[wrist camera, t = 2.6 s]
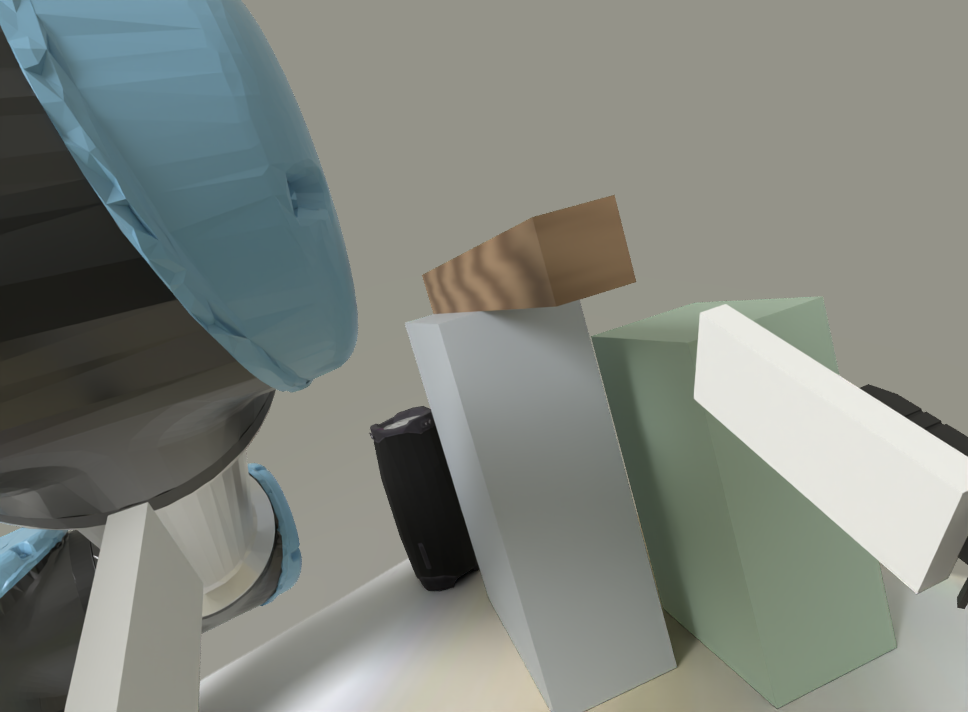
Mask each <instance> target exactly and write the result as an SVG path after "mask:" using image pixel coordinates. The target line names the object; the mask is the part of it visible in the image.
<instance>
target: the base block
mask: <svg viewBox="0 0 968 712" xmlns="http://www.w3.org/2000/svg"><path fill="white" fill-rule="evenodd" d="M724 304H727V305H728V306H730V307H732V308H733V309H735V310H736V311H738V312H739V313H741V314H743V315H744V316H746V317H747V318H749V319H751V320H752V321H754V322H755V323H757V324H758V325H760V326H762V327H763V328H765V329H766V330H768V331H769V332H771V333H773V334H774V335H776V336H777V337H779V338H781V339H782V340H784V341H785V342H787V343H788V344H790V345H792V346H793V347H795V348H796V349H798V350H800V351H801V352H803V353H804V354H806V355H807V356H809V357H811V358H812V359H814V360H815V361H817V362H819V363H820V364H822V365H823V366H825V367H826V368H828V369H830V370H831V371H833V372H834V373H836V374H837V375H839V371H838V366H837V361H836V357H835V352H834V347H833V342H832V338H831V333H830V328H829V324H828V319H827V314H826V310H825V305H824V300H823V297H802V298H782V299H761V300H741V301H721V302H700V303H692V304H689V305H686V306H683V307H680V308H677V309H674V310H671V311H668V312H665V313H661V314H658V315H655V316H652V317H649V318H646V319H643V320H640V321H637V322H634V323H631V324H628V325H625V326H622V327H619V328H615V329H613V330H609V331H606V332H603V333H600V334H597V335H594V336H591V338H592V342H593V345H594V349H595V353H596V357H597V361H598V364H599V368H600V372H601V376H602V380H603V383H604V387H605V391H606V394H607V398H608V402H609V406H610V410H611V414H612V417H613V421H614V425H615V428H616V432H617V436H618V440H619V444H620V447H621V451H622V455H623V459H624V462H625V466H626V470H627V474H628V478H629V482H630V485H631V489H632V492H633V497H634V500H635V504H636V508H637V512H638V515H639V519H640V523H641V527H642V531H643V534H644V538H645V542H646V546H647V549H648V553H649V557H650V561H651V565H652V568H653V572H654V576H655V580H656V583H657V587H658V591H659V595H660V599H661V602H662V606H663V609H664V610H666V611H667V612H668V613H669V614H670V615H671V616H672V617H674V618H675V619H676V620H677V621H678V622H679V623H680V624H681V625H683V626H684V627H685V628H686V629H687V630H688V631H689V632H691V633H692V634H693V635H694V636H695V637H696V638H697V639H698V640H700V641H701V642H702V643H703V644H704V645H705V646H706V647H708V648H709V649H710V650H711V651H712V652H713V653H714V654H716V655H717V656H718V657H719V658H720V659H721V660H722V661H723V662H725V663H726V664H727V665H728V666H729V667H730V668H731V669H733V670H734V671H735V672H736V673H737V674H738V675H739V676H740V677H742V678H743V679H744V680H745V681H746V682H747V683H748V684H750V685H751V686H752V687H753V688H754V689H755V690H756V691H757V692H759V693H760V694H761V695H762V696H763V697H764V698H765V699H767V700H768V701H769V702H770V703H771V704H772V705H773V706H774V707H776V708H777V709H778V708H780V707H782V706H783V705H785V704H787V703H789V702H791V701H793V700H795V699H797V698H799V697H801V696H803V695H805V694H807V693H809V692H811V691H813V690H815V689H817V688H819V687H821V686H822V685H824V684H826V683H828V682H830V681H832V680H834V679H836V678H838V677H840V676H842V675H844V674H846V673H848V672H850V671H852V670H854V669H856V668H858V667H860V666H861V665H863V664H865V663H867V662H869V661H871V660H873V659H875V658H877V657H879V656H881V655H883V654H885V653H887V652H889V651H891V650H893V649H895V648H897V644H896V640H895V635H894V630H893V626H892V621H891V616H890V611H889V607H888V602H887V597H886V592H885V588H884V583H883V578H882V574H881V569H880V564H879V561H878V560H877V559H876V558H875V557H874V556H872V555H871V554H870V553H869V552H868V551H867V550H866V549H865V548H863V547H862V546H861V545H860V544H859V543H858V542H857V541H855V540H854V539H853V538H852V537H851V536H850V535H849V534H847V533H846V532H845V531H844V530H843V529H842V528H841V527H839V526H838V525H837V524H836V523H835V522H834V521H833V520H831V519H830V518H829V517H828V516H827V515H826V514H825V513H824V512H822V511H821V510H820V509H819V508H818V507H817V506H816V505H814V504H813V503H812V502H811V501H810V500H809V499H808V498H806V497H805V496H804V495H803V494H802V493H801V492H800V491H798V490H797V489H796V488H795V487H794V486H793V485H792V484H790V483H789V482H788V481H787V480H786V479H785V478H784V477H782V476H781V475H780V474H779V473H778V472H777V471H776V470H775V469H773V468H772V467H771V466H770V465H769V464H768V463H767V462H765V461H764V460H763V459H762V458H761V457H760V456H759V455H757V454H756V453H755V452H754V451H753V450H752V449H751V448H749V447H748V446H747V445H746V444H745V443H744V442H743V441H741V440H740V439H739V438H738V437H737V436H736V435H735V434H734V433H732V432H731V431H730V430H729V429H728V428H727V427H726V426H724V425H723V424H722V423H721V422H720V421H719V420H718V419H716V418H715V417H714V416H713V415H712V414H711V413H710V412H708V411H707V410H706V409H705V408H704V407H703V406H702V405H700V404H699V403H698V402H697V401H696V400H695V399H694V385H695V372H696V359H697V345H698V332H699V318H700V313H701V312H704V311H706V310H709V309H712V308H715V307H718V306H721V305H724ZM839 376H840V375H839Z"/></svg>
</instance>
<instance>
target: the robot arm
mask: <svg viewBox="0 0 968 712" xmlns="http://www.w3.org/2000/svg"><path fill="white" fill-rule="evenodd" d="M357 334H358V313H357V304H356V297H355V289H354V284H353V279H352V273H351V268H350V264H349V260H348V255H347V251H346V247H345V243H344V238H343V235H342V232H341V227H340V224H339V220H338V217H337V213H336V210H335V207H334V204H333V201H332V197H331V195H330V191H329V188H328V184H327V182H326V178H325V176H324V173H323V170H322V167H321V164H320V161H319V158H318V155H317V152H316V150H315V147H314V144H313V142H312V139H311V136H310V134H309V131H308V128H307V126H306V123H305V121H304V118H303V116H302V113H301V111H300V108H299V106H298V103H297V101H296V99H295V96H294V94H293V92H292V90H291V88H290V85H289V83H288V81H287V78H286V76H285V74H284V72H283V70H282V68H281V66H280V64H279V62H278V60H277V58H276V56H275V54H274V52H273V50H272V48H271V46H270V45H269V43H268V41H267V39H266V37H265V35H264V34H263V32H262V30H261V28H260V27H259V25H258V23H257V22H256V20H255V19H254V17H253V16H252V14H251V13H250V11H249V10H248V9H247V7H246V6H245V4H244V3H243V2H242V1H241V0H0V522H1V523H4V524H9V525H14V526H19V527H22V528H20V529H18V530H16V531H14V532H11V533H9V534H7V535H5V536H3V537H0V712H199V686H200V659H201V634H202V633H204V632H206V631H209V630H211V629H213V628H215V627H217V626H219V625H221V624H223V623H225V622H227V621H229V620H231V619H233V618H235V617H237V616H239V615H241V614H243V613H245V612H247V611H250V610H252V609H254V608H256V607H258V606H263V605H266V604H268V603H270V602H272V601H273V600H274V599H275V598H276V597H277V596H278V595H280V594H282V593H283V592H285V591H287V590H289V589H290V588H291V587H292V586H294V584H295V583H296V582H297V580H298V578H299V575H300V573H301V565H302V559H301V558H302V557H301V553H300V550H299V548H298V547H299V538H298V533H297V529H296V525H295V523H294V519H293V516H292V513H291V510H290V508H289V505H288V503H287V500H286V498H285V496H284V494H283V491H282V490H281V488H280V486H279V484H278V483H277V481H276V479H275V478H274V477H273V475H272V474H271V473H270V472H269V471H267V470H266V468H265V467H264V466H262V465H260V464H256V463H251V464H247V453H246V449H247V448H248V446H249V445H250V443H251V442H252V441H253V439H254V438H255V436H256V435H257V433H258V432H259V430H260V428H261V426H262V424H263V422H264V421H265V419H266V417H267V415H268V413H269V410H270V407H271V404H272V401H273V398H274V395H275V391H276V389H277V390H279V391H282V392H284V391H289V392H296V391H299V390H302V389H304V388H306V387H308V386H309V385H310V384H311V382H312V381H313V379H315V378H317V377H319V376H321V375H324V374H326V373H328V372H331V371H333V370H335V369H337V368H339V367H341V366H342V365H343V364H344V363H345V362H346V361H347V360H348V359H349V357H350V356H351V354H352V352H353V350H354V348H355V345H356V341H357ZM694 399H695V400H696V401H697V402H698V403H699V404H700V405H702V406H703V407H704V408H705V409H706V410H707V411H708V412H710V413H711V414H712V415H713V416H714V417H715V418H716V419H718V420H719V421H720V422H721V423H722V424H723V425H724V426H726V427H727V428H728V429H729V430H730V431H731V432H732V433H734V434H735V435H736V436H737V437H738V438H739V439H740V440H741V441H743V442H744V443H745V444H746V445H747V446H748V447H749V448H751V449H752V450H753V451H754V452H755V453H756V454H757V455H759V456H760V457H761V458H762V459H763V460H764V461H765V462H767V463H768V464H769V465H770V466H771V467H772V468H773V469H775V470H776V471H777V472H778V473H779V474H780V475H781V476H782V477H784V478H785V479H786V480H787V481H788V482H789V483H790V484H792V485H793V486H794V487H795V488H796V489H797V490H798V491H800V492H801V493H802V494H803V495H804V496H805V497H806V498H808V499H809V500H810V501H811V502H812V503H813V504H814V505H816V506H817V507H818V508H819V509H820V510H821V511H822V512H824V513H825V514H826V515H827V516H828V517H829V518H830V519H831V520H833V521H834V522H835V523H836V524H837V525H838V526H839V527H841V528H842V529H843V530H844V531H845V532H846V533H847V534H849V535H850V536H851V537H852V538H853V539H854V540H855V541H857V542H858V543H859V544H860V545H861V546H862V547H863V548H865V549H866V550H867V551H868V552H869V553H870V554H871V555H872V556H874V557H875V558H876V559H877V560H878V561H879V562H880V563H882V564H883V565H884V566H885V567H886V568H887V569H888V570H890V571H891V572H892V573H893V574H894V575H895V576H896V577H898V578H899V579H900V580H901V581H902V582H903V583H904V584H906V585H907V586H908V587H909V588H910V589H911V590H912V591H913V592H915V593H916V594H918V593H920V592H922V591H924V590H926V589H928V588H930V587H932V586H934V585H936V584H938V583H940V582H942V581H944V580H946V579H948V578H949V576H950V574H951V572H952V569H953V567H954V565H955V563H956V561H957V559H958V558H960V559H961V560H962V561H964V562H965V563H966V564H967V565H968V437H967V436H965V435H964V434H962V433H961V432H959V431H957V430H956V429H954V428H952V427H951V426H949V425H947V424H945V425H944V424H942V423H941V420H939V419H937V418H936V417H934V416H932V415H931V414H929V413H927V412H922V410H921V408H919V407H918V406H916V405H914V404H913V403H911V402H909V401H908V400H906V399H904V398H903V397H901V396H899V395H898V394H895V393H892V392H889V391H886V390H884V389H881V388H878V387H875V386H872V385H869V384H868V385H866V386H863V387H861V388H858V387H856V386H855V385H853V384H852V383H850V382H849V381H847V380H845V379H843V378H842V377H840V376H839V375H837V374H836V373H834V372H833V371H831V370H830V369H828V368H826V367H825V366H823V365H822V364H820V363H819V362H817V361H815V360H814V359H812V358H811V357H809V356H807V355H806V354H804V353H803V352H801V351H800V350H798V349H796V348H795V347H793V346H792V345H790V344H788V343H787V342H785V341H784V340H782V339H781V338H779V337H777V336H776V335H774V334H773V333H771V332H769V331H768V330H766V329H765V328H763V327H762V326H760V325H758V324H757V323H755V322H754V321H752V320H751V319H749V318H747V317H746V316H744V315H743V314H741V313H739V312H738V311H736V310H735V309H733V308H732V307H730V306H728V305H727V304H724V305H721V306H718V307H715V308H712V309H709V310H706V311H704V312H701V313H700V318H699V332H698V345H697V359H696V372H695V385H694ZM68 530H74V531H69V532H68ZM967 604H968V578H967V580H966V582H965V584H964V586H963V587H962V589H961V591H960V593H959V595H958V597H957V608H962V609H965V607H966V606H967Z"/></svg>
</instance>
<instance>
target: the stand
mask: <svg viewBox="0 0 968 712" xmlns="http://www.w3.org/2000/svg"><path fill="white" fill-rule="evenodd" d="M405 326H406V329H407V333H408V336H409V339H410V342H411V346H412V349H413V352H414V355H415V359H416V362H417V365H418V369H419V372H420V375H421V378H422V382H423V385H424V388H425V392H426V395H427V398H428V401H429V405H430V408H431V411H432V414H433V418H434V421H435V424H436V428H437V431H438V434H439V437H440V441H441V444H442V447H443V451H444V454H445V457H446V460H447V464H448V467H449V470H450V473H451V477H452V480H453V483H454V487H455V490H456V493H457V496H458V500H459V503H460V506H461V510H462V513H463V516H464V519H465V523H466V526H467V529H468V532H469V536H470V539H471V542H472V546H473V549H474V552H475V555H476V559H477V562H478V565H479V568H480V572H481V575H482V578H483V582H484V585H485V588H486V591H487V595H488V598H489V600H490V602H491V604H492V605H493V607H494V609H495V611H496V613H497V615H498V616H499V618H500V620H501V622H502V624H503V626H504V627H505V629H506V631H507V633H508V635H509V637H510V638H511V640H512V642H513V644H514V646H515V647H516V649H517V651H518V653H519V655H520V657H521V658H522V660H523V662H524V664H525V666H526V668H527V669H528V671H529V673H530V675H531V677H532V679H533V680H534V682H535V684H536V686H537V688H538V689H539V691H540V693H541V695H542V697H543V699H544V700H545V702H546V704H547V706H548V708H549V710H550V711H551V712H584V711H586V710H588V709H590V708H592V707H595V706H597V705H599V704H601V703H603V702H605V701H607V700H609V699H611V698H613V697H616V696H618V695H620V694H622V693H624V692H626V691H628V690H630V689H632V688H635V687H637V686H639V685H641V684H643V683H645V682H647V681H649V680H651V679H654V678H656V677H658V676H660V675H662V674H664V673H666V672H668V671H670V670H672V669H675V668H677V665H676V661H675V657H674V653H673V650H672V646H671V642H670V638H669V635H668V631H667V627H666V623H665V620H664V616H663V612H662V608H661V605H660V601H659V597H658V593H657V589H656V586H655V582H654V578H653V574H652V571H651V567H650V563H649V559H648V556H647V552H646V548H645V544H644V540H643V537H642V533H641V529H640V525H639V522H638V518H637V514H636V510H635V507H634V503H633V499H632V495H631V491H630V488H629V484H628V480H627V476H626V473H625V469H624V465H623V461H622V458H621V454H620V450H619V446H618V442H617V439H616V435H615V431H614V428H613V424H612V420H611V416H610V412H609V409H608V405H607V401H606V397H605V394H604V390H603V386H602V382H601V379H600V375H599V371H598V367H597V363H596V360H595V356H594V352H593V348H592V344H591V341H590V337H589V333H588V329H587V326H586V322H585V318H584V314H583V311H582V308H581V303H580V300H576V301H573V302H570V303H567V304H564V305H560V306H557V307H543V308H527V309H510V310H494V311H477V312H461V313H444V314H433V315H430V316H426V317H422V318H420V319H416V320H413V321H409V322H406V323H405Z"/></svg>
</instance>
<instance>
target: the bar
mask: <svg viewBox="0 0 968 712" xmlns="http://www.w3.org/2000/svg"><path fill="white" fill-rule="evenodd" d="M422 276H423V280H424V283H425V286H426V290H427V293H428V297H429V300H430V303H431V307H432V310H433V313H434V314H444V313H461V312H477V311H494V310H510V309H527V308H543V307H557V306H560V305H564V304H567V303H570V302H573V301H576V300H580V299H583V298H586V297H589V296H593V295H596V294H599V293H602V292H606V291H609V290H612V289H615V288H618V287H622V286H625V285H628V284H631V283H634V282H636V279H635V275H634V271H633V267H632V263H631V259H630V255H629V251H628V247H627V243H626V239H625V235H624V231H623V227H622V223H621V219H620V216H619V211H618V207H617V204H616V200H615V196H614V195H613V196H609V197H605V198H601V199H598V200H594V201H590V202H587V203H583V204H579V205H576V206H572V207H568V208H565V209H561V210H557V211H553V212H550V213H546V214H542V215H539V216H535V217H532V218H530V219H528V220H526V221H524V222H522V223H521V224H519V225H517V226H515V227H513V228H511V229H509V230H507V231H505V232H503V233H501V234H499V235H497V236H496V237H494V238H492V239H490V240H488V241H486V242H484V243H482V244H480V245H479V246H477V247H475V248H473V249H471V250H469V251H467V252H465V253H463V254H461V255H460V256H457V257H456V258H454V259H452V260H450V261H448V262H446V263H444V264H442V265H440V266H439V267H436V268H435V269H433V270H431V271H429V272H427V273H425V274H423V275H422Z"/></svg>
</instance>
